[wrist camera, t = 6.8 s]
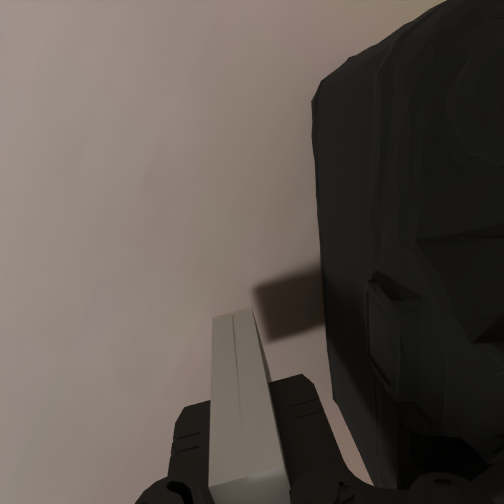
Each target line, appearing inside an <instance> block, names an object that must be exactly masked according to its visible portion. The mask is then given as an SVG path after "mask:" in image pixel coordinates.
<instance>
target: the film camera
mask: <svg viewBox="0 0 504 504" xmlns="http://www.w3.org/2000/svg"><path fill="white" fill-rule="evenodd" d="M311 103H312V145H313V153H314V159H315V177H316V199H317V216H318V226H319V238H320V255H321V274H322V285H323V301H324V314H325V327H326V341H327V352H328V359H329V366H330V374H331V382H332V391H333V400H334V401H335V402H336V404H337V405H338V407H339V409H340V411H341V413H342V416H343V418H344V420H345V422H346V424H347V426H348V429H349V431H350V433H351V435H352V437H353V440H354V442H355V444H356V446H357V448H358V451H359V453H360V455H361V457H362V460H363V462H364V464H365V467H366V469H367V471H368V473H369V476H370V478H371V480H372V482H373V485H374V487H380V488H385V489H400V490H409V489H410V486H411V484H412V483H413V482H414V481H415V480H416V479H417V478H419V477H420V476H422V475H425V474H428V473H431V472H446V473H451V474H454V475H456V476H459V477H462V478H465V479H466V480H468V481H469V482H470V483H472V484H473V485H475V486H476V487H477V488H479V489H480V490H481V491H482V492H483V493H484V494H485V495H487V496H488V497H489V498H490V499H491V500H492V501H493V502H494V503H495V504H504V0H447V1H445V2H443V3H441V4H439V5H437V6H435V7H433V8H431V9H429V10H428V11H426V12H425V13H423V14H422V15H421V16H419V17H418V18H416V19H415V20H413V21H411V22H409V23H407V24H405V25H403V26H402V27H400V28H399V29H398V30H396V31H395V32H394V33H392V34H391V35H389V36H388V37H387V38H385V39H384V40H382V41H381V42H379V43H378V44H376V45H373V46H371V47H369V48H367V49H366V50H364V51H362V52H361V53H359V54H357V55H355V56H352V57H349V58H348V59H347V60H346V62H345V63H343V64H342V65H341V66H340V67H339V68H338V69H336V70H335V71H334V72H332V73H331V74H330V75H328V76H327V77H326V78H324V79H323V80H322V81H321V83H320V85H319V87H318V89H317V92H316V94H315V96H314V97H313V99H312V101H311Z"/></svg>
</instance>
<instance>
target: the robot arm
mask: <svg viewBox="0 0 504 504" xmlns="http://www.w3.org/2000/svg"><path fill="white" fill-rule="evenodd" d="M135 504H495V503H494V502H493V501H492V500H491V499H490V498H489V497H488V496H487V495H485V494H484V493H483V492H482V491H481V490H480V489H479V488H477V487H476V486H475V485H473V484H472V483H470V482H469V481H468V480H466V479H465V478H462V477H459V476H456V475H454V474H451V473H446V472H431V473H428V474H425V475H422V476H420V477H419V478H417V479H416V480H415V481H414V482H413V483H412V484H411V486H410V489H409V490H400V489H385V488H380V487H374V486H372V485H369V484H367V483H365V482H363V481H361V480H360V479H359V478H357V477H356V476H354V474H353V473H352V472H351V471H350V470H349V469H348V467H347V466H346V464H345V462H344V460H343V458H342V455H341V453H340V450H339V447H338V445H337V442H336V440H335V437H334V435H333V432H332V430H331V427H330V424H329V422H328V419H327V417H326V414H325V412H324V409H323V406H322V404H321V401H320V399H319V396H318V394H317V391H316V389H315V386H314V384H313V383H312V382H311V381H310V380H309V379H307V378H306V377H305V376H304V375H303V374H299V375H296V376H292V377H288V378H285V379H281V380H277V381H274V382H272V381H271V376H270V372H269V367H268V364H267V360H266V357H265V353H264V350H263V346H262V342H261V339H260V335H259V332H258V328H257V325H256V321H255V318H254V314H253V310H252V307H251V308H247V309H244V310H240V311H236V312H233V313H229V314H225V315H222V316H218V317H214V318H213V328H212V367H211V400H209V401H205V402H201V403H198V404H194V405H190V406H187V407H184V409H183V410H182V412H181V414H180V416H179V417H178V419H177V421H176V423H175V428H174V435H173V443H172V449H171V457H170V462H169V469H168V476H167V477H165V478H163V479H161V480H159V481H156V482H155V483H154V484H152V485H151V486H150V487H149V488H148V489H146V490H145V491H144V492H143V493H142V495H141V496H140V497H139V499H138V500H137V501H136V503H135Z"/></svg>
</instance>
